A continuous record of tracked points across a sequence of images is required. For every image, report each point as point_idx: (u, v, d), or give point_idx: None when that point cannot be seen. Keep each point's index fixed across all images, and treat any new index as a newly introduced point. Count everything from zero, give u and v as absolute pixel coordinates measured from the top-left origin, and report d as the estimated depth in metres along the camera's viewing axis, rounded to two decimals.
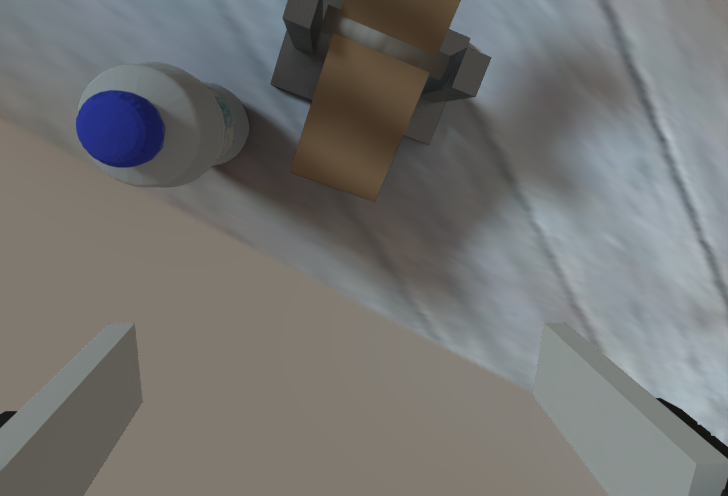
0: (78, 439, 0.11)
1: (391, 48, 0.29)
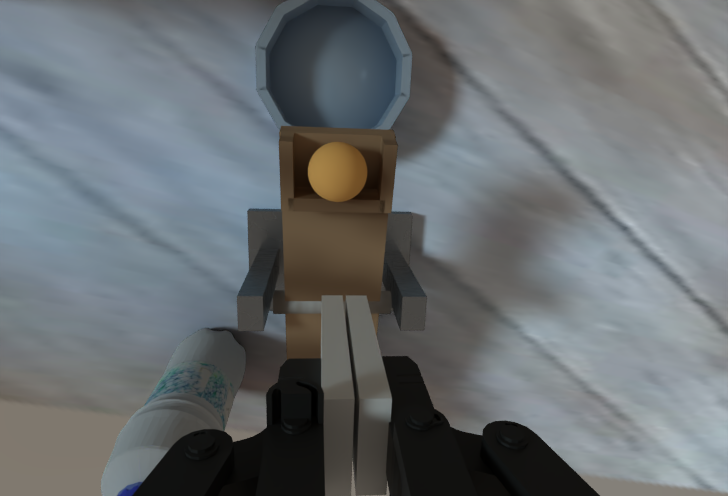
0: None
1: None
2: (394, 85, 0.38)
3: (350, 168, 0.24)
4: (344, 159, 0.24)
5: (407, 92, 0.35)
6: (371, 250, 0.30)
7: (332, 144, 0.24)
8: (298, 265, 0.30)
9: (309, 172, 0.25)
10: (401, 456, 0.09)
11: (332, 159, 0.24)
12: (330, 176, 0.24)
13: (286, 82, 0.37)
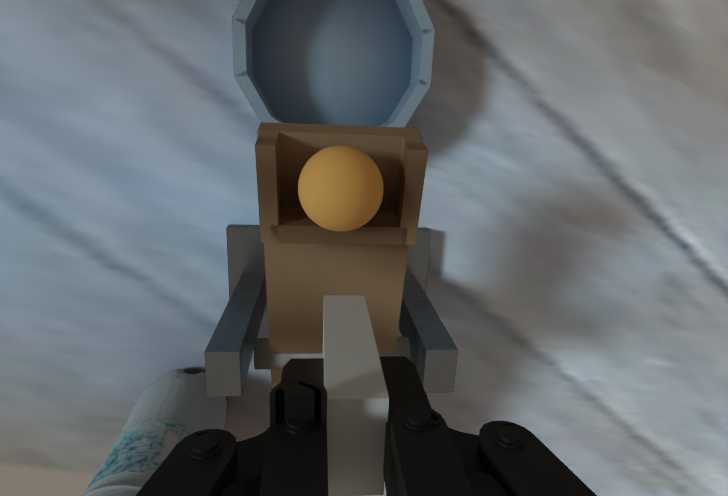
0: None
1: None
2: (409, 71, 0.30)
3: (360, 185, 0.16)
4: (351, 172, 0.16)
5: (428, 79, 0.28)
6: (385, 290, 0.22)
7: (333, 150, 0.17)
8: (287, 310, 0.22)
9: (300, 190, 0.17)
10: (398, 456, 0.09)
11: (333, 172, 0.16)
12: (330, 197, 0.16)
13: (273, 67, 0.29)
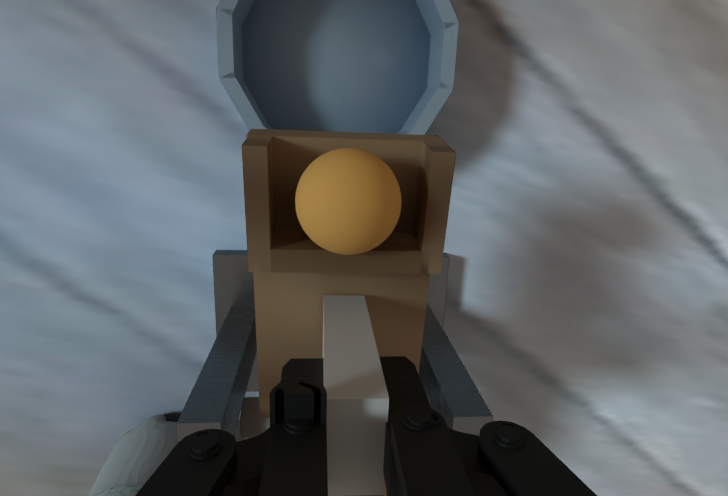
0: None
1: None
2: (426, 72, 0.26)
3: (373, 192, 0.13)
4: (362, 175, 0.13)
5: (450, 82, 0.23)
6: (402, 334, 0.18)
7: (339, 151, 0.13)
8: (282, 360, 0.18)
9: (297, 201, 0.13)
10: (398, 456, 0.09)
11: (340, 175, 0.13)
12: (336, 207, 0.13)
13: (267, 67, 0.25)
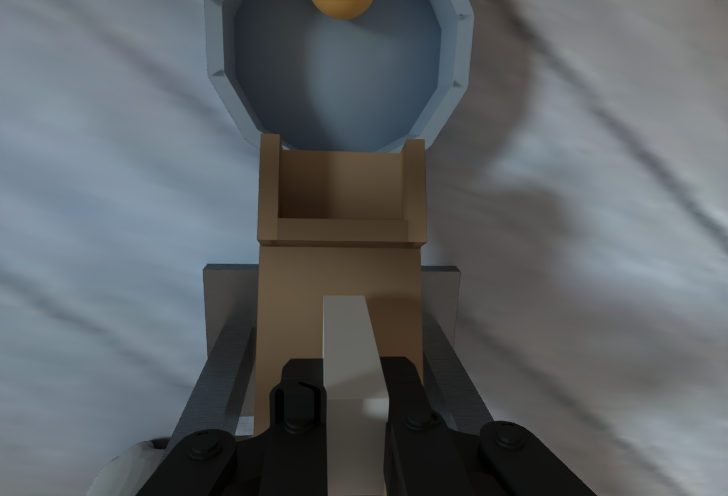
0: None
1: None
2: (437, 70, 0.23)
3: None
4: None
5: (464, 80, 0.21)
6: (401, 335, 0.18)
7: None
8: (281, 368, 0.18)
9: None
10: (398, 456, 0.09)
11: None
12: None
13: (262, 65, 0.23)
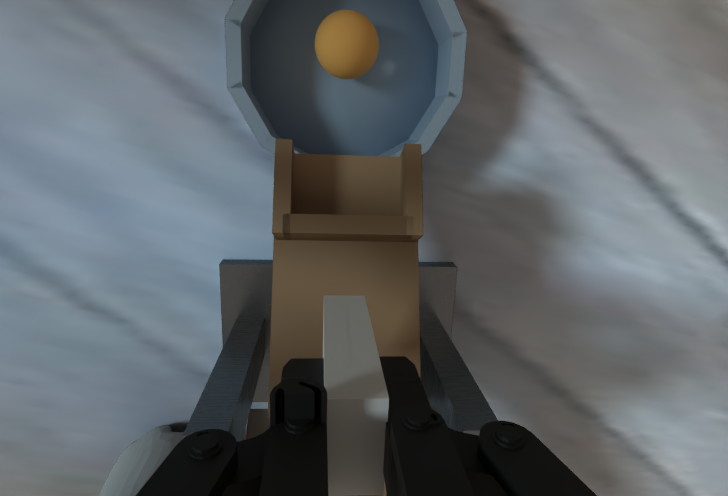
0: None
1: None
2: (434, 82, 0.26)
3: (358, 72, 0.23)
4: (353, 67, 0.23)
5: (458, 91, 0.23)
6: (400, 320, 0.20)
7: (341, 45, 0.22)
8: (292, 348, 0.20)
9: (316, 54, 0.23)
10: (398, 456, 0.09)
11: (340, 67, 0.23)
12: (338, 76, 0.24)
13: (275, 77, 0.25)
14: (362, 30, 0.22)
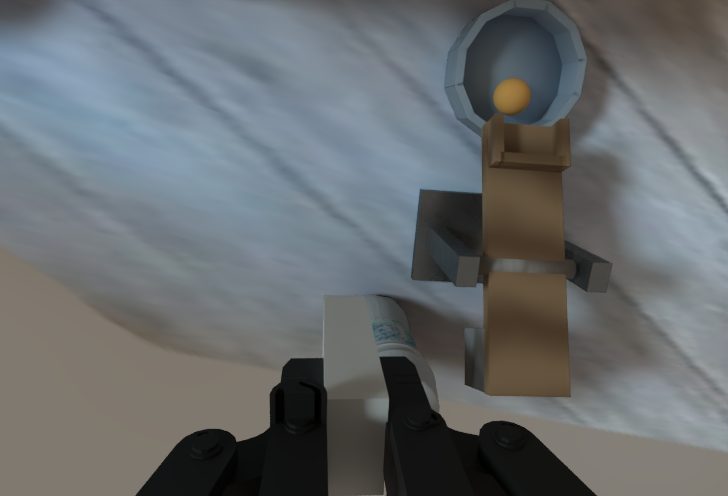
0: None
1: (533, 266, 0.37)
2: (558, 86, 0.44)
3: None
4: None
5: (579, 92, 0.41)
6: (553, 212, 0.38)
7: (503, 113, 0.43)
8: (499, 223, 0.38)
9: None
10: (398, 456, 0.09)
11: None
12: None
13: (468, 79, 0.43)
14: (517, 113, 0.42)
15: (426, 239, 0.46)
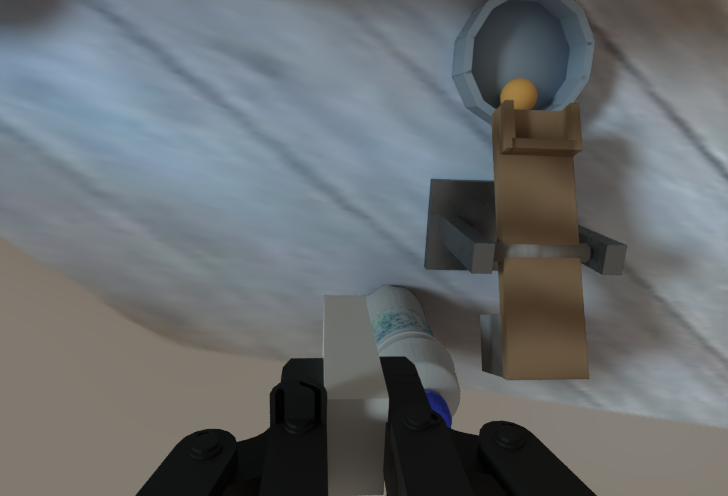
0: None
1: (547, 251, 0.37)
2: (566, 70, 0.44)
3: None
4: None
5: (588, 75, 0.41)
6: (566, 196, 0.38)
7: None
8: (512, 209, 0.38)
9: (501, 92, 0.42)
10: (398, 456, 0.09)
11: None
12: None
13: (475, 67, 0.43)
14: None
15: (438, 228, 0.46)
